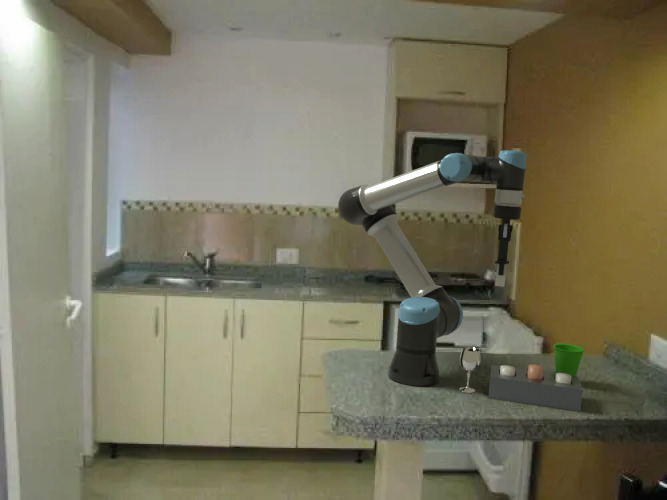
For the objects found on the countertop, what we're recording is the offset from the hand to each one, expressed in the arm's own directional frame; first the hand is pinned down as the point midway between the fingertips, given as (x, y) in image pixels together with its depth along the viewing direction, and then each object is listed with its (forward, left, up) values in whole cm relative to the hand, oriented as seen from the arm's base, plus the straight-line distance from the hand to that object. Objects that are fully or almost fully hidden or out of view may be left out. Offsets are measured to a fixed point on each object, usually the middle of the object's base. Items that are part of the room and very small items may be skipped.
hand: (499, 285), depth 189 cm
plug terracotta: (+12, -8, -27) cm, 31 cm away
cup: (+22, +11, -30) cm, 38 cm away
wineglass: (-6, -10, -30) cm, 32 cm away
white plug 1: (+4, -8, -29) cm, 30 cm away
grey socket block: (+12, -8, -29) cm, 33 cm away
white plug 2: (+19, -8, -29) cm, 36 cm away
